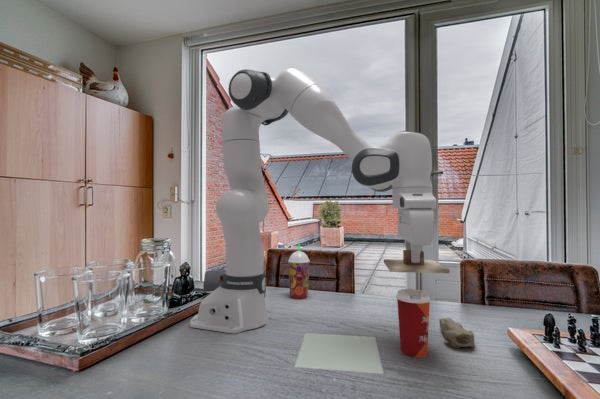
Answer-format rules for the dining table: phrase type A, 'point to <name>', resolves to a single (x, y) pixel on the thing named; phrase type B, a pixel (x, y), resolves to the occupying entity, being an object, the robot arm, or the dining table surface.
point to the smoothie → (298, 274)
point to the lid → (414, 265)
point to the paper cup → (413, 321)
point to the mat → (339, 353)
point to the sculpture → (456, 334)
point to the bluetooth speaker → (212, 279)
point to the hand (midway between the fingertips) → (412, 260)
